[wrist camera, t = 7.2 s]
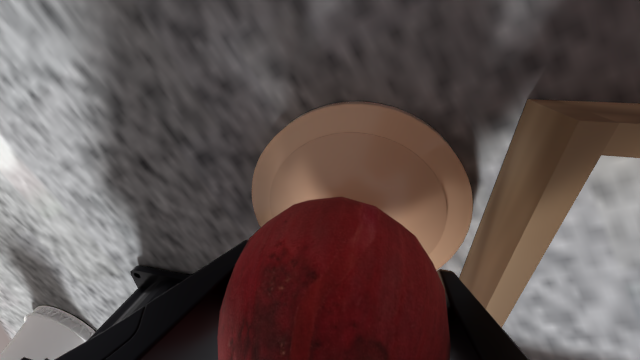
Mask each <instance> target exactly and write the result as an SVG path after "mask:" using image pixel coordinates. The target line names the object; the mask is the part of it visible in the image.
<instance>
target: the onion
mask: <svg viewBox="0 0 640 360" xmlns="http://www.w3.org/2000/svg"><path fill="white" fill-rule="evenodd" d="M217 340H218V360H450V350H451V344H450V334H449V325H448V316H447V307H446V298H445V289H444V287H443V285H442V282H441V280H440V278H439V275H438V273H437V271H436V269H435V266H434V264H433V262H432V261H431V259H430V257H429V256H428V254H427V253H426V251H425V250H424V248H423V247H422V245H421V244H420V242H419V241H418V239H417V237H416V236H415V235H414V234H412V233H411V232H410V231H409V230H408V229H406V228H405V227H404V226H403V225H402V224H400V223H399V222H397V221H396V220H394V219H393V218H392V217H390V216H389V215H387V214H386V213H385V212H383V211H382V210H380V209H379V208H377V207H376V206H373V205H370V204H366V203H363V202H359V201H356V200H352V199H349V198H345V197H342V196H341V197H332V198H323V199H314V200H307V201H304V202H300V203H297V204H294V205H292V206H291V207H289V208H288V209H286V210H284V211H283V212H281V213H280V214H278V215H277V216H275V217H274V218H272V219H271V220H269V221H268V222H266V223H265V224H264V225H263V226H262V227H261V228H260V229H259V230H258V231H257V232H256V233H255V234H254V235H253V236H252V237H250V238H249V240H248V242H247V244H246V246H245V247H244V249H243V251H242V253H241V255H240V257H239V258H238V260H237V262H236V264H235V267H234V269H233V272H232V275H231V277H230V280H229V282H228V285H227V288H226V292H225V295H224V299H223V302H222V305H221V309H220V315H219V326H218V336H217Z"/></svg>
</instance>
